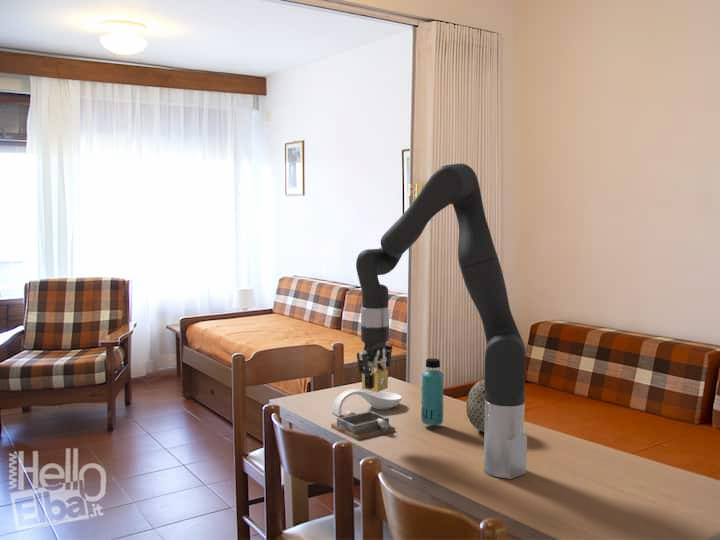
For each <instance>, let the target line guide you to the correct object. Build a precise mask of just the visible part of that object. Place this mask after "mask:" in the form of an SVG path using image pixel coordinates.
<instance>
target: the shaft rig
mask: <svg viewBox="0 0 720 540" xmlns="http://www.w3.org/2000/svg"><path fill="white" fill-rule="evenodd" d="M343 415H344V416H343V417H337V418H336V422H335V423H331V424H330V427H331V429H333V430H336V431H338V432H340V433H341V434H344V435H347V436H348V437H350V438H352V439H355V440H356V441H361V440H364V439H369V438H372V437H376V436H381V435H385V434H389V433H394V432H395V431H396V428H395V427H394V426H392V425H391V424H390V417H387V416H385V415H382V414H380V413H377V412H375V411H373V410H369V411H364V412H360V413H355V412H353V411H350V410H346V411H345V412H344V414H343Z"/></svg>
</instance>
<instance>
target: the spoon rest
mask: <svg viewBox="0 0 720 540" xmlns="http://www.w3.org/2000/svg"><path fill="white" fill-rule="evenodd" d="M352 395H357V396H360V397H361V398H362V399H364V400H365V401H366V402H367V404H368V405H370V406H371V407H372V408H373V409H376V410H380V411H381V410H390V409H392V408H394V407H396V406H397V405H399V404H400V402H401V401H402V399H403V396H402V395H400V394H397V393H394V392H389V391H383V390H382V391H379V392H374V391H369V390H363V389H357V388H349V389H346V390H344V391H343V392H342V393H340V394H339V395H338V396H337V397H336V398H335V399H334V402H333V405H332V407H331V413H332V414H333V415H335V416H337V417H341V416H342V406H343V403H344V402H345V401H346V399H347V398H349V397H351V396H352Z"/></svg>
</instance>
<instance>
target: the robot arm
mask: <svg viewBox="0 0 720 540" xmlns="http://www.w3.org/2000/svg"><path fill="white" fill-rule="evenodd" d="M478 179H479V178H478V176H477V174H476V172H475V170H474V169H473V168H472V167H471V166H470V165H467V164H466V163H452V164H446V165H442V166H440V167H439V168H437V169H435V170H434V171H433V172H432V174H431V176H430V177H429V178H428V180H427V181H426V182H425V184H424V186H423V187H422V189H421V191H420V192H418V193H419V194H418V195H417V196H416V198H415V199H414V200H413V201H412V203H411V204H410V206H408V208H407V209H406V211H404V213H403V214H402V215H401V216H400V217H399V218H398V219H397V220H396V221H395V222H394V223H393V225H391V226H390V228H389V229H387V231H386V232H385V233H384V234H383V235H382V236H381V238H380V246H381V247H379V248H367V249H364V250H362V251H360V252H359V254H358V255H357V258H356V262H355V269H356V273H357V278H358V281H359V286H360V288H361V293H362V294H361V313H360V318H361V319H360V334H361V335H360V340H361V342H363V343H364V347H363V350H362V351H360V352H359V351H357V353H356V360H357V365H358V367H357V368H358V373H359V374H361V375H362V374H364V375H365V388H367V389H372V388H373V371H374V368H380V369H386V370H387V368H389V367H390V366H391V360H392V352H393V345H391V344H386V343H388V342H389V341H390V311H389V289H388V286H387V285H384V284H381V283H380V281H379V276H384V275H387V274H389V273H391V272H392V271H393V270H394V269H395V268H396V266H397V265H398V263H399V261H400V260H401V258H402V256H403V254H404V253H405V252H407V250H409V249H410V248H411V246H413V244H414V243H416V242H417V240H418V239H419V238H420V237H421V235H422V234H423V231H424V230H425V228H426V226H427V225H428V223H429V222H430V221H431V219H433V218H434V216H436V214H438V213H439V212H441V211H442V210H444V209H445V208H446V207H448V206H450V205H452V207H453V209H454V213H455V215H456V216H455V217H456V220H457V223H458V242H457V243H458V244H457V246H458V247H457V260H458V261H457V262H458V265H459V268H460V272H461V276H462V278H463V281H464V285H465V287H466V289H467V292H468V294H469V296H470V298H471V300H472V302H473V304H474V306H475V308H476V310H477V311H478V314H479V316H480V319H481V322H482V325H483V330H484V335H485V341H486V349H485V354H484V379H485V424H484V432H483V433H484V434H483V435H484V436H483V471H484V472H485V473H486V474H488V475H489V476H493V477H497V478H502V479H507V480H513V479H515V478H517V477H521V476H523V475H526V474H527V460H528V459H527V454H528V451H527V450H528V436H527V434H525V433H524V432H525V404H526V403H525V399H526V396H525V395H526V362H527V358H526V357H527V348H526V344H525V342H524V339H523V338H522V337H521V333H520V332H519V329H518V327H517V325H516V321H515V320H514V316H513V314H512V311H511V307H510V302H509V298H508V291H507V287H506V286H507V285H506V282H505V278H504V273H503V270H502V266H501V264H500V260H499V257H498V253H497V251H496V248H495V245H494V241H493V237H492V233H491V231H490V227H489V225H488V221H487V218H486V213H485V208H484V203H483V199H482V192H481V188H480V183H479V180H478ZM369 368H370V370H369Z"/></svg>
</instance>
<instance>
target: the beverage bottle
mask: <svg viewBox="0 0 720 540" xmlns="http://www.w3.org/2000/svg"><path fill="white" fill-rule="evenodd" d="M440 361H441V359H439V358H433V357H432V358H431V357H430V358H426V360H425V368H429V369H425V370H424V371H423V372H422V374H421V377H422V379H421V401H420V402H421V407H420V408H421V410H420V411H421V412H420V414H421V416H420V417H421V422H422V424H424V425H428V426H439V425H442V424H443V423H444V375H445V374H444V373H443V372H442V371H440V369H437V368H440V367H441V362H440Z"/></svg>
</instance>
